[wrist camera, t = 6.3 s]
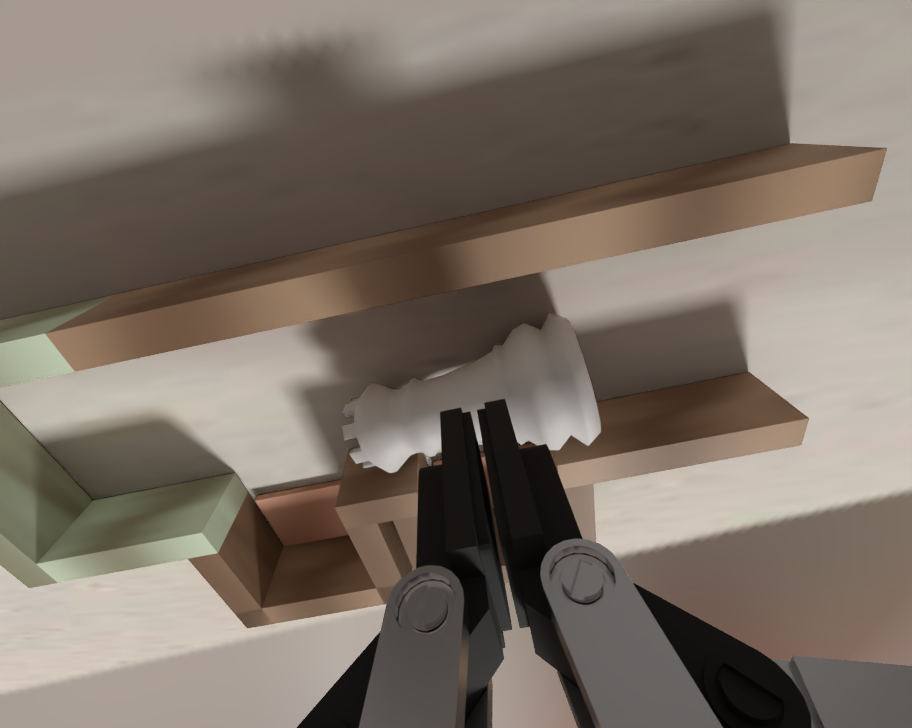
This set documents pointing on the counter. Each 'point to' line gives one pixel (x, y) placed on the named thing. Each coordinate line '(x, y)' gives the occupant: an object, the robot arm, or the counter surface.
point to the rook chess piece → (483, 398)
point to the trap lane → (396, 494)
